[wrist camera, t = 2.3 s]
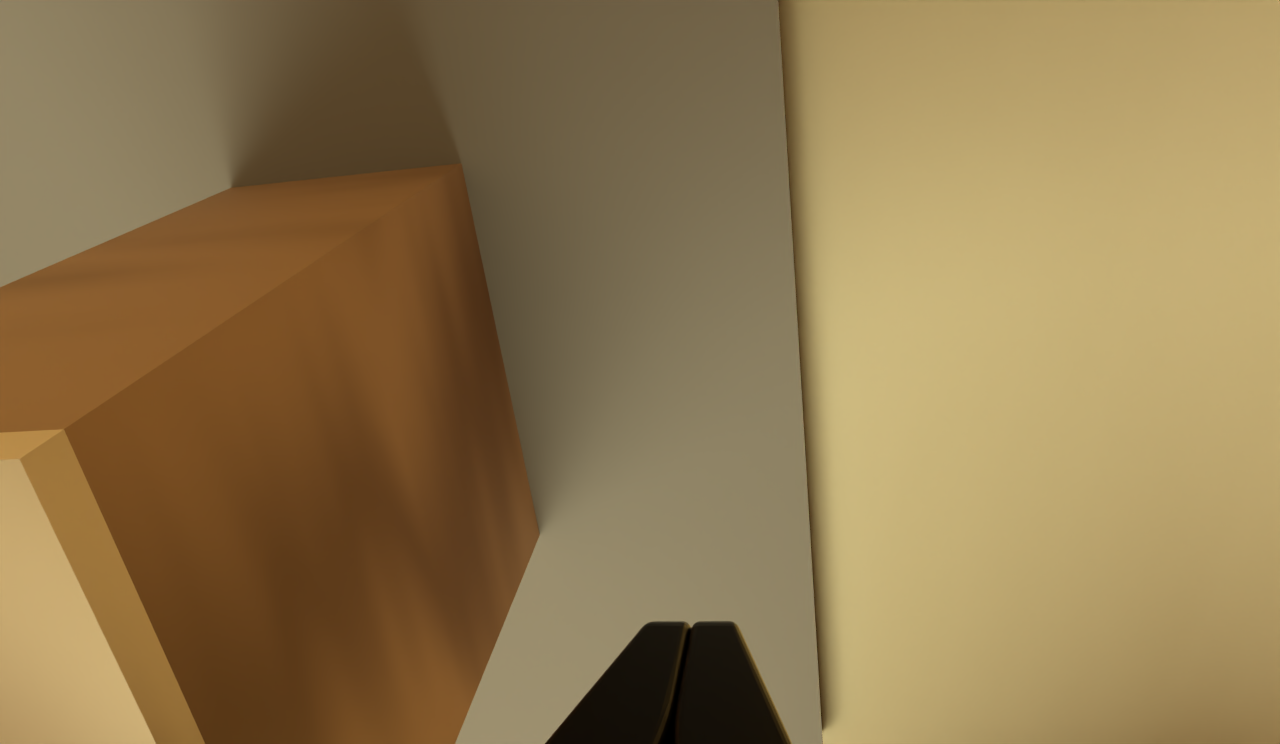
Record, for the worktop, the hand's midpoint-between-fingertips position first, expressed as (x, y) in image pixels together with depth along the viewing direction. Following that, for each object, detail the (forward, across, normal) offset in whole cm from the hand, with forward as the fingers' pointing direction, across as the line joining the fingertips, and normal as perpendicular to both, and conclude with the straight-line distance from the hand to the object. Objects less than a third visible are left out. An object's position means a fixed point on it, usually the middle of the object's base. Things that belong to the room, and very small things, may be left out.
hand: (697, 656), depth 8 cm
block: (+7, +6, 0) cm, 9 cm away
